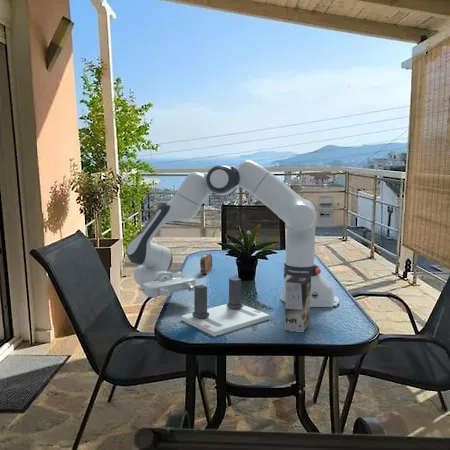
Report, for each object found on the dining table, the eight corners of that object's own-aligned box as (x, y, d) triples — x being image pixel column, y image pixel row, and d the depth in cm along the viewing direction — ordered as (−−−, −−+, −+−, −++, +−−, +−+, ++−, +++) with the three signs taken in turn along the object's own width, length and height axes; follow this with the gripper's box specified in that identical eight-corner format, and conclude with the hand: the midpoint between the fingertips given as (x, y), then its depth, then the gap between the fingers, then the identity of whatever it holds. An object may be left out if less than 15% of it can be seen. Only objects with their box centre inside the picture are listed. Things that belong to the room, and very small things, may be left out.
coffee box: (304, 333, 133) (305, 283, 131) (284, 330, 136) (285, 281, 134) (309, 323, 142) (311, 276, 140) (290, 320, 144) (292, 274, 142)
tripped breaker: (192, 315, 143) (192, 286, 142) (202, 313, 146) (201, 284, 145) (199, 319, 140) (199, 288, 139) (209, 316, 143) (209, 286, 141)
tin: (205, 276, 202) (205, 258, 200) (199, 275, 202) (199, 258, 201) (212, 268, 216) (212, 252, 215) (206, 268, 217) (206, 251, 216)
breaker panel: (181, 320, 144) (181, 315, 144) (235, 305, 160) (235, 301, 159) (214, 336, 131) (214, 331, 130) (269, 319, 146) (269, 314, 146)
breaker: (226, 306, 153) (227, 278, 151) (235, 304, 155) (235, 277, 154) (234, 309, 150) (234, 281, 148) (242, 307, 152) (243, 279, 151)
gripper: (136, 279, 154) (155, 287, 144) (183, 270, 167) (204, 278, 157) (136, 295, 155) (155, 305, 145) (183, 286, 168) (204, 294, 158)
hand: (181, 291), depth 151 cm, fingers open, 8 cm apart
